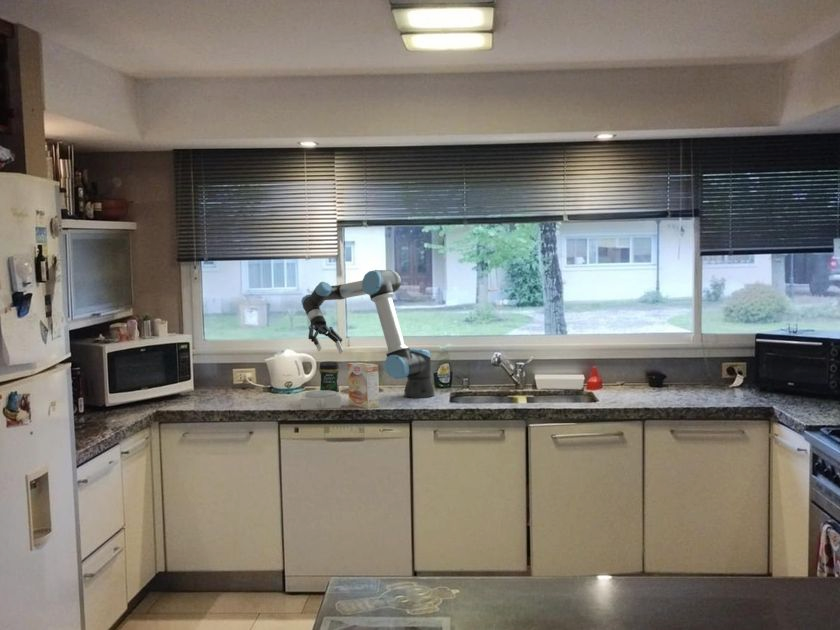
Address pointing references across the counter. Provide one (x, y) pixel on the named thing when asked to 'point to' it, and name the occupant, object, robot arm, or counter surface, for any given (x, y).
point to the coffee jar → (329, 376)
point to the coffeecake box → (363, 385)
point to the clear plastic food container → (320, 400)
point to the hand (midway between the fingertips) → (331, 350)
